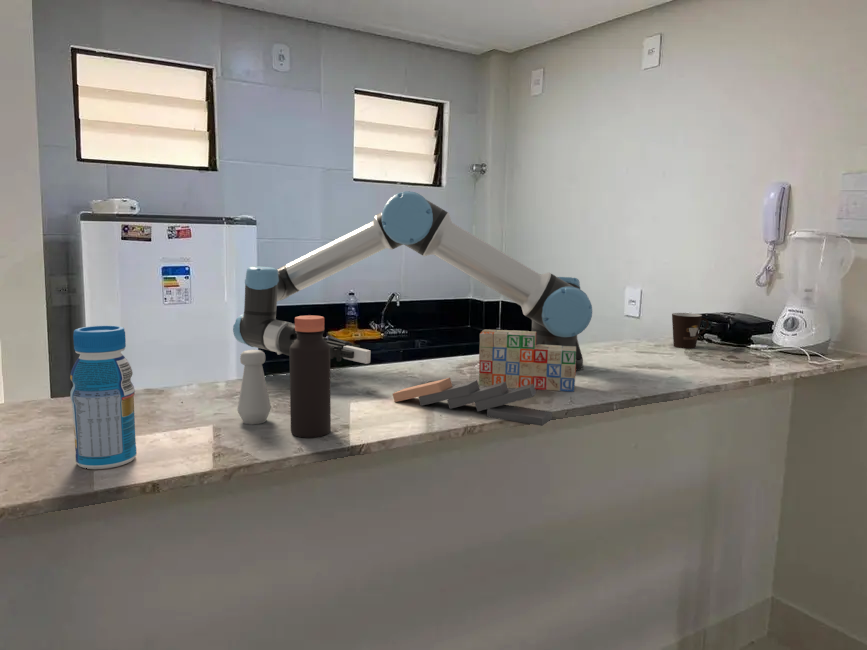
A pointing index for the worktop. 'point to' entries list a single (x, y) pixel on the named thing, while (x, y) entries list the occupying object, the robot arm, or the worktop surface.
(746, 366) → the worktop surface
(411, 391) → the orange domino
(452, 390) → the domino
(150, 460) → the worktop surface
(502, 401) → the domino
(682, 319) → the coffee mug
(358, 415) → the worktop surface
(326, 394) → the vinegar
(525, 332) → the stack of blocks
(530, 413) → the domino
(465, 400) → the domino
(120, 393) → the beverage bottle
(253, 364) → the salt shaker
